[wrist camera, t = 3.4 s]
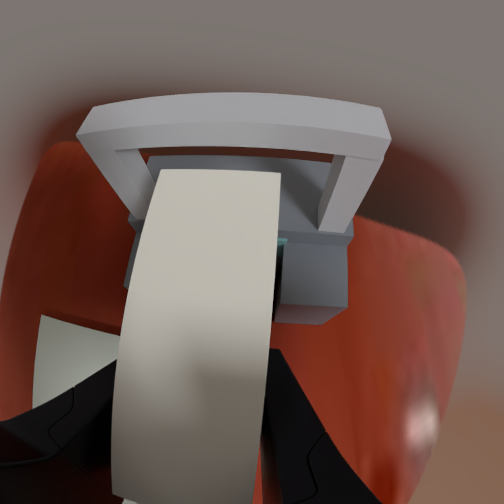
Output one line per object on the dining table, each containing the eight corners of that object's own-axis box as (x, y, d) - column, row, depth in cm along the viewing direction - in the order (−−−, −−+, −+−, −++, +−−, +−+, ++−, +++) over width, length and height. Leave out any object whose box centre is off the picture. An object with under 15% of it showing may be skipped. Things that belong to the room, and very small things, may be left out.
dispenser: (320, 324, 15) (434, 240, 4) (161, 309, 15) (25, 214, 5) (322, 227, 17) (378, 70, 7) (180, 217, 18) (111, 69, 7)
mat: (162, 538, 9) (160, 542, 9) (43, 484, 10) (38, 485, 9) (173, 346, 14) (169, 345, 14) (46, 316, 15) (41, 314, 15)
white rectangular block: (257, 427, 13) (251, 525, 3) (199, 420, 13) (110, 492, 4) (270, 286, 16) (283, 173, 6) (215, 281, 16) (159, 169, 7)
